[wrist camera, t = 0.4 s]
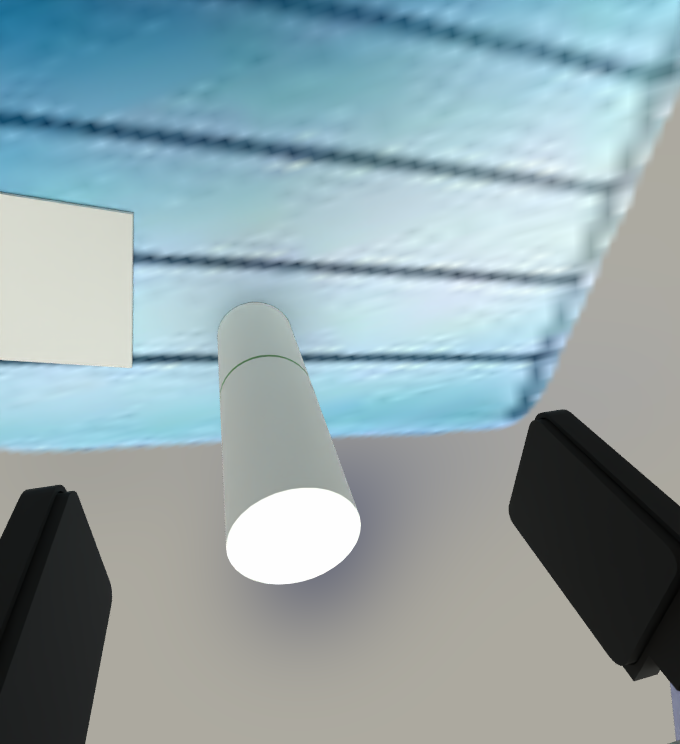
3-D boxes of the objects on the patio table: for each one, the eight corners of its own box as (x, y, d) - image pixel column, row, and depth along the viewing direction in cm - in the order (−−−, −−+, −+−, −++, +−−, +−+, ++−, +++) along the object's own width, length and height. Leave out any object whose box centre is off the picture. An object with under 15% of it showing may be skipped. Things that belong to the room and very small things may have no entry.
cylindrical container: (232, 378, 48) (253, 600, 27) (205, 316, 44) (204, 518, 23) (300, 355, 48) (372, 555, 27) (279, 292, 44) (344, 468, 23)
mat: (-79, 179, 34) (-84, 181, 33) (133, 212, 38) (132, 214, 37) (-47, 353, 40) (-50, 356, 39) (132, 364, 44) (131, 368, 44)
